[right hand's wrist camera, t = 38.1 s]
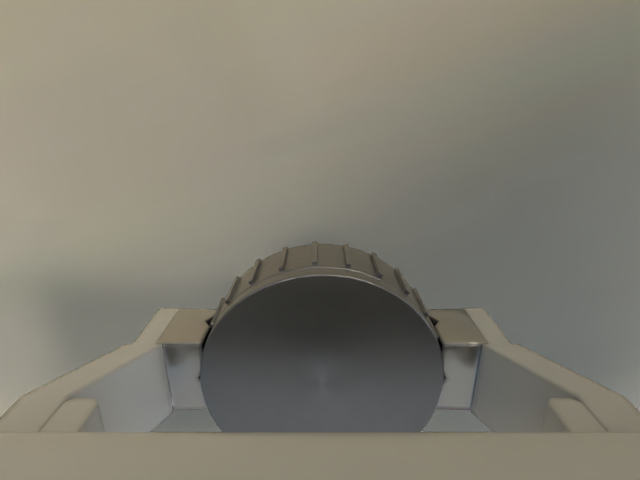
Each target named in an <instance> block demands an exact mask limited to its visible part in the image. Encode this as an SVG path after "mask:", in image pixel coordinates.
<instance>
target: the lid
mask: <svg viewBox="0 0 640 480" xmlns="http://www.w3.org/2000/svg"><path fill="white" fill-rule="evenodd" d="M209 327H211V328H212V330H211V331H210V334H209V336H208V339H207V341H206V344H205V347H204V349H203V353H202V358H201V363H200V382H201V390H202V393H203V397H204V400H205V403H206V406H207V408H208V410H209V412H210V414H211V416H212V417H213V419H214V421H215V422H216V424H217V425H218V426H219V428H220V429H221V430H222V431H223V432H421V431H422V430H423V429H424V427H425V426H426V425H427V423H428V422H429V420H430V419H431V417H432V416H433V414H434V412H435V410H436V408H437V405H438V403H439V400H440V397H441V393H442V389H443V382H444V362H443V357H442V351H441V349H440V346H439V343H438V341H439V336H438V334H437V332H436V330H435V328H434V326H433V324H432V322H431V320H430V318H429V314H428V312H427V310H426V308H425V306H424V304H423V301H422V299H421V297H420V295H419V293H418V291H417V290H416V288H413V289H412V288H411V287H410V285H409V284H408V283H407V282H406V280H405V279H404V278H403V276H402V274H401V272H400V270H399V269H398V268H396V269H393V268H392V267H391V266H389V265H388V264H387V263H385V262H384V261H382V260H380V259H378V258H377V255H376V254H375V253H373V252H372V254H368V253H366V252H363V251H361V250H357V249H354V248H350V247H348V244H343V246H339V245H331V244H317V242H313V245H305V246H298V247H294V248H290V249H288V248H287V247H284V248H283V249H282V251H281V252H278V253H276V254H273V255H271V256H269V257H267V258H265V259H264V260H262V261H261V259H258V260H256V263H255V265H254V266H253V267H252V268H250V269H249V270H248V271H247V272H246V273H245V274H244V275H243V276H242V277H241V278H240V277H238V276H237V277H236V279H235V280H234V283H233V285H232V287H231V289H230V291H229V294H228V296H227V298H226V299H225V298H222V300H221V302H220V304H219V306H218V308H217V310H216V312H215V314H214V317H213V319H212V321H211V323H210V325H209Z"/></svg>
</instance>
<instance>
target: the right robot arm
mask: <svg viewBox="0 0 640 480" xmlns="http://www.w3.org/2000/svg"><path fill="white" fill-rule="evenodd" d="M216 310H217V309H180V308H169V309H159V310H158V311H157V312H156V314H155V315H154V316H153V318H152V319H151V320H150V322H149V323H148V324H147V326H146V327H145V328H144V330H143V331H142V332H141V334H140V335H139V336H138V338H137V339H136V340H135V341H134V343H133V344H126V345H124V346H122V347H120V348H118V349H116V350H114V351H112V352H110V353H108V354H106V355H104V356H102V357H100V358H97V359H95V360H93V361H91V362H89V363H87V364H85V365H83V366H81V367H79V368H77V369H75V370H73V371H71V372H69V373H67V374H65V375H63V376H61V377H59V378H57V379H55V380H53V381H51V382H49V383H47V384H45V385H43V386H41V387H39V388H37V389H35V390H33V391H31V392H29V393H27V394H25V395H23V396H21V397H20V398H19V399H18V400H17V401H16V402H15V403H14V404H13V405H12V406H11V407H10V408H9V409H8V410H7V411H6V412H5V413H4V414H3V415H2V416H1V417H0V480H640V412H639V411H638V410H637V409H636V408H635V407H634V406H633V405H632V404H631V403H630V402H629V401H628V400H627V399H626V398H625V397H624V396H622V395H620V394H618V393H616V392H614V391H612V390H610V389H608V388H606V387H604V386H602V385H600V384H598V383H596V382H594V381H592V380H590V379H587V378H585V377H583V376H581V375H579V374H577V373H575V372H573V371H571V370H569V369H567V368H565V367H563V366H561V365H559V364H557V363H555V362H553V361H551V360H549V359H547V358H545V357H543V356H541V355H539V354H537V353H535V352H533V351H531V350H529V349H527V348H525V347H523V346H521V345H519V344H511V342H510V341H509V340H508V339H507V337H506V336H505V335H504V334H503V332H502V331H501V330H500V328H499V327H498V326H497V325H496V323H495V322H494V321H493V319H492V318H491V317H490V316H489V314H488V313H487V312H486V310H484V309H482V308H473V309H433V310H427V312H428V314H429V318H430V320H431V322H432V324H433V326H434V328H435V330H436V332H437V334H438V336H439V341H438V343H439V346H440V349H441V351H442V357H443V362H444V382H443V389H442V393H441V397H440V400H439V403H438V405H437V408H436V409H451V410H471V412H472V413H473V414H474V415H475V416H476V417H477V418H479V419H480V420H481V421H482V422H483V423H484V424H485V425H486V426H488V427H489V428H490V429H491V430H492V431H493V432H151V431H152V430H153V429H155V428H156V427H157V426H158V425H159V424H160V423H161V422H162V421H163V420H165V419H166V418H167V417H168V416H169V415H170V414H171V413H172V412H173V410H193V409H208V408H207V406H206V403H205V400H204V397H203V393H202V390H201V382H200V363H201V358H202V353H203V349H204V347H205V344H206V341H207V339H208V336H209V334H210V331H211V330H212V328H211V327H209V325H210V323H211V321H212V319H213V317H214V314H215V312H216Z"/></svg>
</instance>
